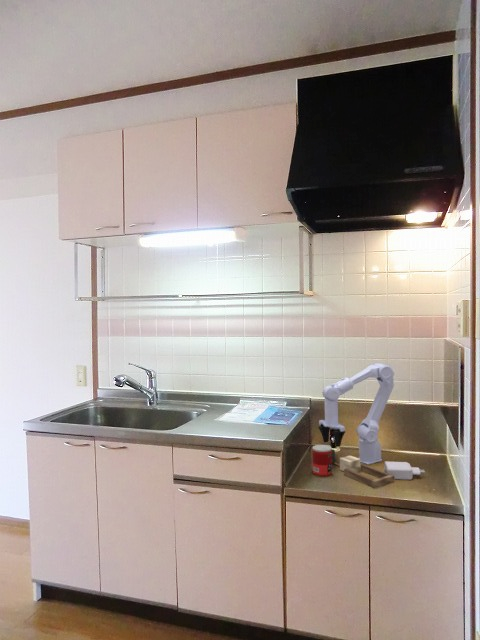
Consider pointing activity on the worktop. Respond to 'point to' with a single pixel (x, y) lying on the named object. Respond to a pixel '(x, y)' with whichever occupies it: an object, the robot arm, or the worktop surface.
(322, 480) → the worktop surface
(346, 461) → the cream grey uneven dumbbell
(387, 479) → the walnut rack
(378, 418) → the robot arm
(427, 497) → the worktop surface
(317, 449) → the canned food
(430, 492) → the worktop surface
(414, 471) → the charger
